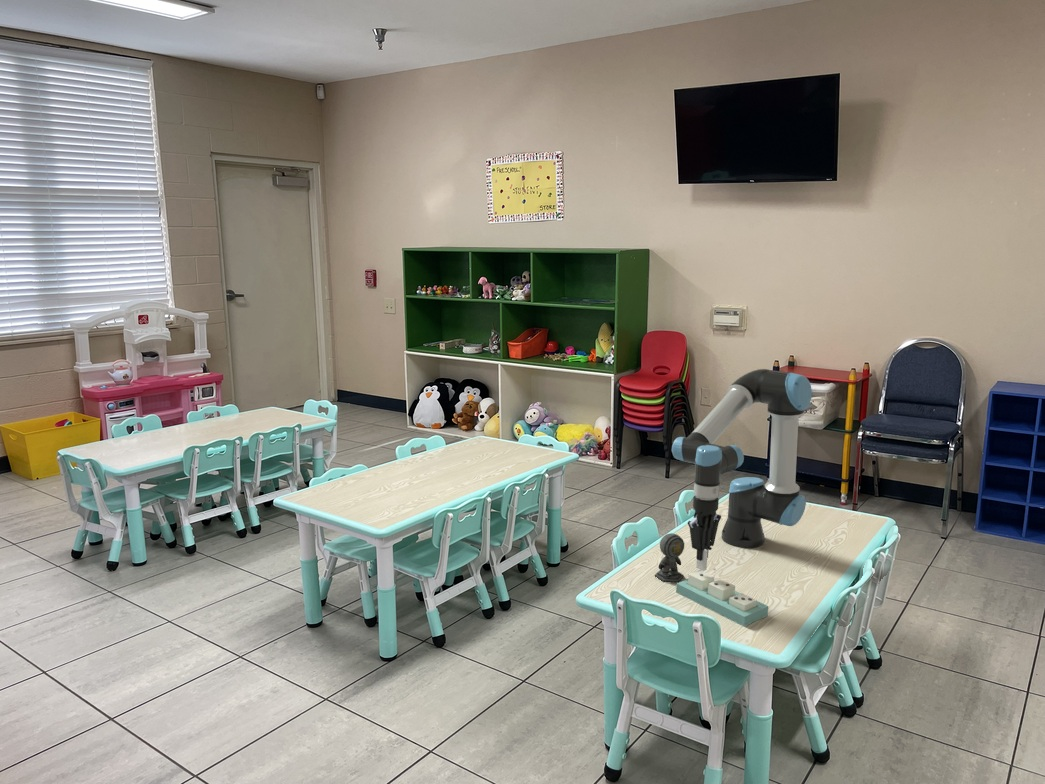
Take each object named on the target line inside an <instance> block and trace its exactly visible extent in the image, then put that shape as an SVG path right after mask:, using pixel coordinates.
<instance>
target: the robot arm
mask: <svg viewBox="0 0 1045 784" xmlns="http://www.w3.org/2000/svg"><path fill="white" fill-rule="evenodd" d="M812 390H813V389H812V385H811V383H810V380H809V379H808V377H806V376H805V375H802V374H798V373H795V372H789V371H782V370H781V371H779V370H772V369H767V368H759V369H756V370H751V371H749V372H747V373H745V374H743V375H742V376H740V377H739V378H737V379H736V380H735V381H734V382H732V383H731V385H729V386H728V388H727V390H726V392H727V393H726V394H725V395H724V397H723V398H722V399H721V400H720V401H719V402H718V403H717V404H716V406H715V407H714V408H712V410H710V412H709V413H708V414H707V415H706V417H705V418H704V419H703V420H702V421H701V422H700V423H699V424H698V425H697V426H696V427H695V428H694V430H692V432H691V433H690V434H689V435H688V436H687V437H686V436H678V437H676V438H675V439H674V440H673V443H672V445H671V453H672V456H673V458H674V459H676V460H679V461H681V462H683V463H684V462H685V463H689V464H694V465H695V467H694V482H693V495H694V496H693V500H692V501H693V502H692V508H693V509H694V514H693V519H692V520H688V521H687V525H688V527H689V534H690V542H691V548H692V549H694V550H696V557H695V558H696V569H698V570H702V571H704V572H706V571H707V567H708V558H709V551H711V550H712V549H713V546H714V545H715V541H716V537H717V532H718V527H719V524H720V521H721V520H722V519H721V518H722V515H721V514H719V513H717V511H718V509H719V501H720V500H719V496H720V494H719V493H720V485H721V475H723V474H725V473H728V472H729V473H730V472H732V471H735V470H736V469H737V468H740V467H741V466H742V465H743V463H744V459H745V455H744V451H742V449H741V448H740V447H739V446H738V445H734V444H731V445H730V444H729V445H725V446H722V445H719V444H714V443H716V441H718V439H719V438H720V437H721V436H722V435H723V433H724V432H725V431H726V430H727V429H728V428H729V426H730V425H731V424H733V422H734V421H735V419H736V418H738V417H739V415H740V414H741V413H742V411H744V410H745V409H748V408H750V407H751V406H752V405H753V404H755V403H756V404H757V403H761V404H765V405H766V404H767V413H769V415H770V416H771V434H770V435H771V437H770V453H769V454H770V455H769V456H770V457H769V458H770V459H769V481H767V482H766V483H765V481H764V479H762V478H760V477H756V476H755V477H754V476H753V477H751V476H746V477H739V478H737V477H736V478H735V479H733V480H732V481H731V482H730V485H729V491H728V493H729V494H728V510H727V519H726V521H725V523H724V525H723V529H722V530H721V540H723V541H724V542H725V543H726V544H729V545H732V546H735V547H740V548H757V547H760V546H763V545H764V543H765V539H766V538H765V533H764V530H763V525H762V520H764V521H765V520H766V521H768V522H772V523H775V524H777V525H778V524H779V525H781V526H787V527H793V526H796V525H797V524H798V523H799V522H800V520H801V519H802V517H803V515H804V513H805V509H806V506H807V500H806V496H804V495H803V494H800V489H801V487H800V486H799V485H798V483H796V480H797V479H796V475H797V456H798V455H797V454H798V452H797V451H798V437H799V418H800V417H801V416H802V415H804V411H805V410H807V409H808V408H809V407H810V404H811V401H812V398H813V393H812Z"/></svg>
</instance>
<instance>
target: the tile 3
mask: <svg viewBox="0 0 1045 784" xmlns="http://www.w3.org/2000/svg"><path fill="white" fill-rule="evenodd" d="M739 593H740V594H738V595H735V596H733V597H730V598H729V605H731V606H733V607H735V608H737V609H739V610H741V611H743V612H746V611H748V610H750V609H753V608H755V607H756V605H757V601H758V599H755V598H753V597H751V596H749V595H746V594H745V593H742V592H739Z"/></svg>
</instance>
